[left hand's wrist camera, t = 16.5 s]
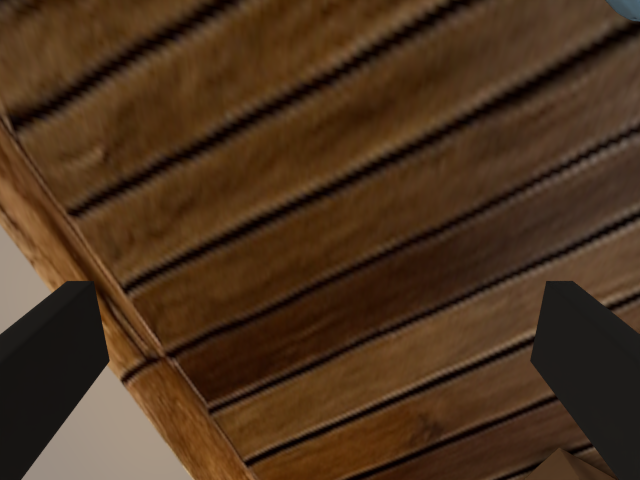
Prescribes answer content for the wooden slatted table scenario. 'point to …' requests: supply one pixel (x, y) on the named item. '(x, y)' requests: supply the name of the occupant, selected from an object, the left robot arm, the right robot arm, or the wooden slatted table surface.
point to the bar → (566, 469)
